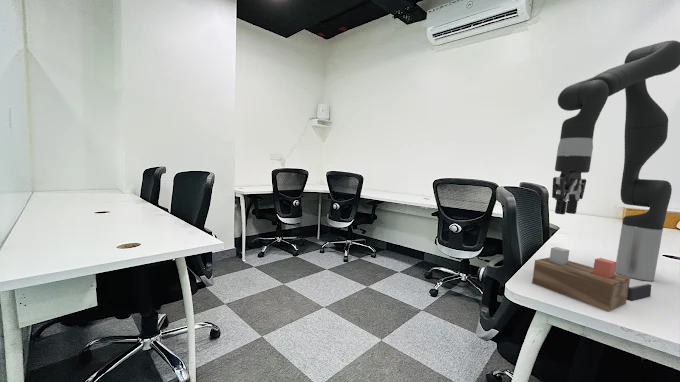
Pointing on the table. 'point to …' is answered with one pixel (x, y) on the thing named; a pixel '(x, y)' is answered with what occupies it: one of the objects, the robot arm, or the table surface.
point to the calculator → (638, 290)
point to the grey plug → (559, 255)
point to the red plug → (604, 268)
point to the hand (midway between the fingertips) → (565, 213)
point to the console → (582, 283)
